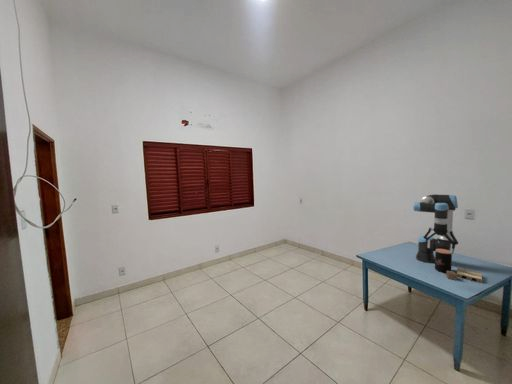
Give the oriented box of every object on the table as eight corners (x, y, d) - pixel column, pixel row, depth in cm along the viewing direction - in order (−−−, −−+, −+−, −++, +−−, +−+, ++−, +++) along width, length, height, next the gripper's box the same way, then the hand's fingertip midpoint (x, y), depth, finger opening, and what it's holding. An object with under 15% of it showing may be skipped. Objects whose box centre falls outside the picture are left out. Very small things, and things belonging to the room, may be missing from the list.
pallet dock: (457, 270, 180) (457, 267, 180) (481, 276, 170) (481, 272, 170) (456, 277, 171) (456, 273, 170) (481, 283, 160) (482, 279, 160)
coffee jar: (431, 268, 187) (432, 248, 186) (443, 267, 187) (444, 248, 185) (441, 273, 177) (442, 253, 175) (454, 273, 176) (455, 253, 175)
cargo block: (446, 276, 173) (446, 270, 172) (454, 277, 170) (454, 271, 170) (448, 279, 168) (448, 273, 168) (456, 280, 166) (456, 274, 165)
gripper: (419, 221, 167) (418, 246, 169) (462, 227, 146) (460, 256, 148) (422, 219, 171) (421, 244, 173) (464, 225, 150) (463, 253, 153)
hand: (439, 250), depth 161 cm, fingers open, 13 cm apart
